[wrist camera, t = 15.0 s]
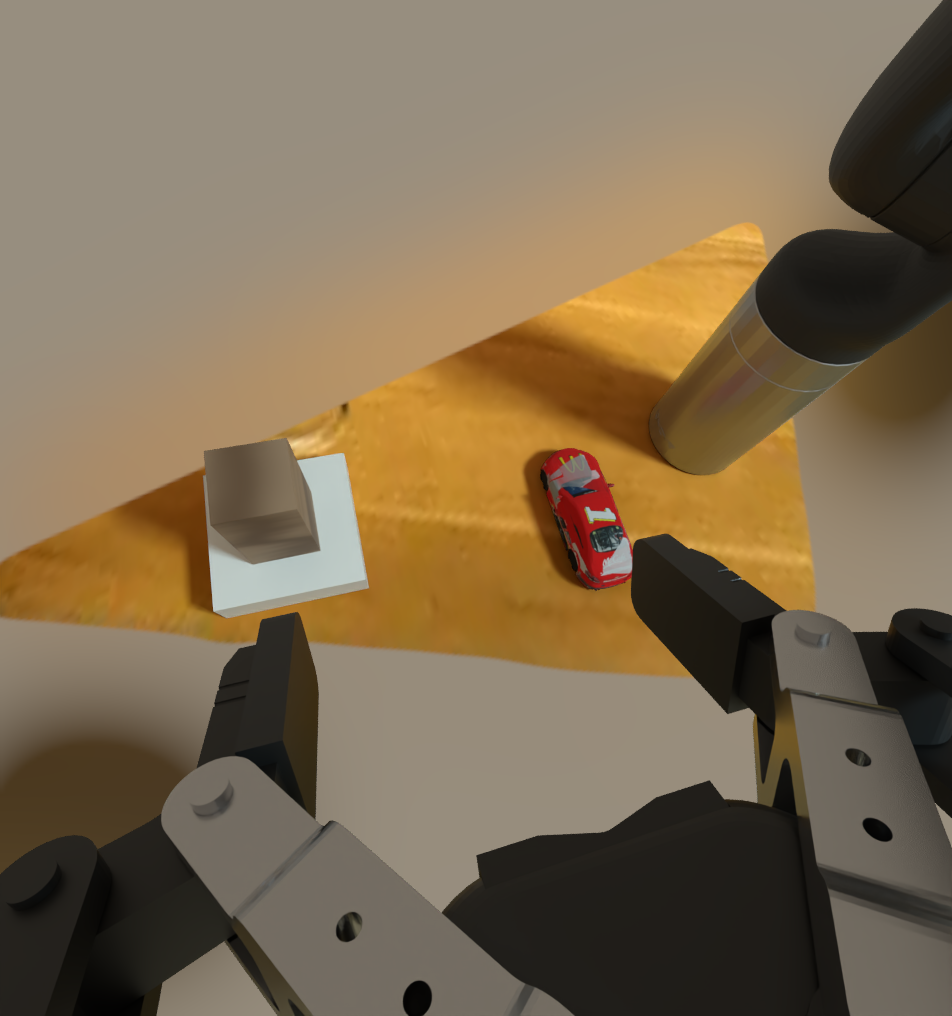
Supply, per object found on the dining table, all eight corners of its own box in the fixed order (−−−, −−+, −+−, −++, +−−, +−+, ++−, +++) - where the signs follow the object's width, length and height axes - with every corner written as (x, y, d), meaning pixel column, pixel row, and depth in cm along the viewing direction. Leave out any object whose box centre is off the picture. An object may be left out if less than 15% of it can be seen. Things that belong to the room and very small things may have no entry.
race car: (531, 461, 49) (541, 440, 45) (585, 451, 50) (598, 430, 46) (576, 597, 45) (590, 586, 41) (633, 583, 46) (652, 571, 42)
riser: (347, 468, 46) (343, 452, 43) (368, 588, 43) (366, 579, 40) (216, 490, 44) (203, 475, 41) (226, 618, 41) (213, 611, 38)
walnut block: (311, 492, 42) (286, 438, 34) (320, 551, 40) (296, 509, 32) (246, 504, 41) (203, 451, 33) (253, 564, 39) (210, 525, 31)
